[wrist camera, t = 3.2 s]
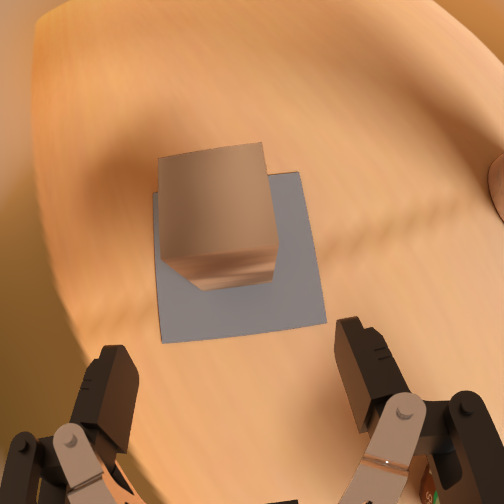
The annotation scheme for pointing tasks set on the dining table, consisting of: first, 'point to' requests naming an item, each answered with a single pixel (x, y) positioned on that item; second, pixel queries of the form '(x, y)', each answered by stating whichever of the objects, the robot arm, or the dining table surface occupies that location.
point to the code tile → (253, 296)
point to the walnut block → (218, 217)
